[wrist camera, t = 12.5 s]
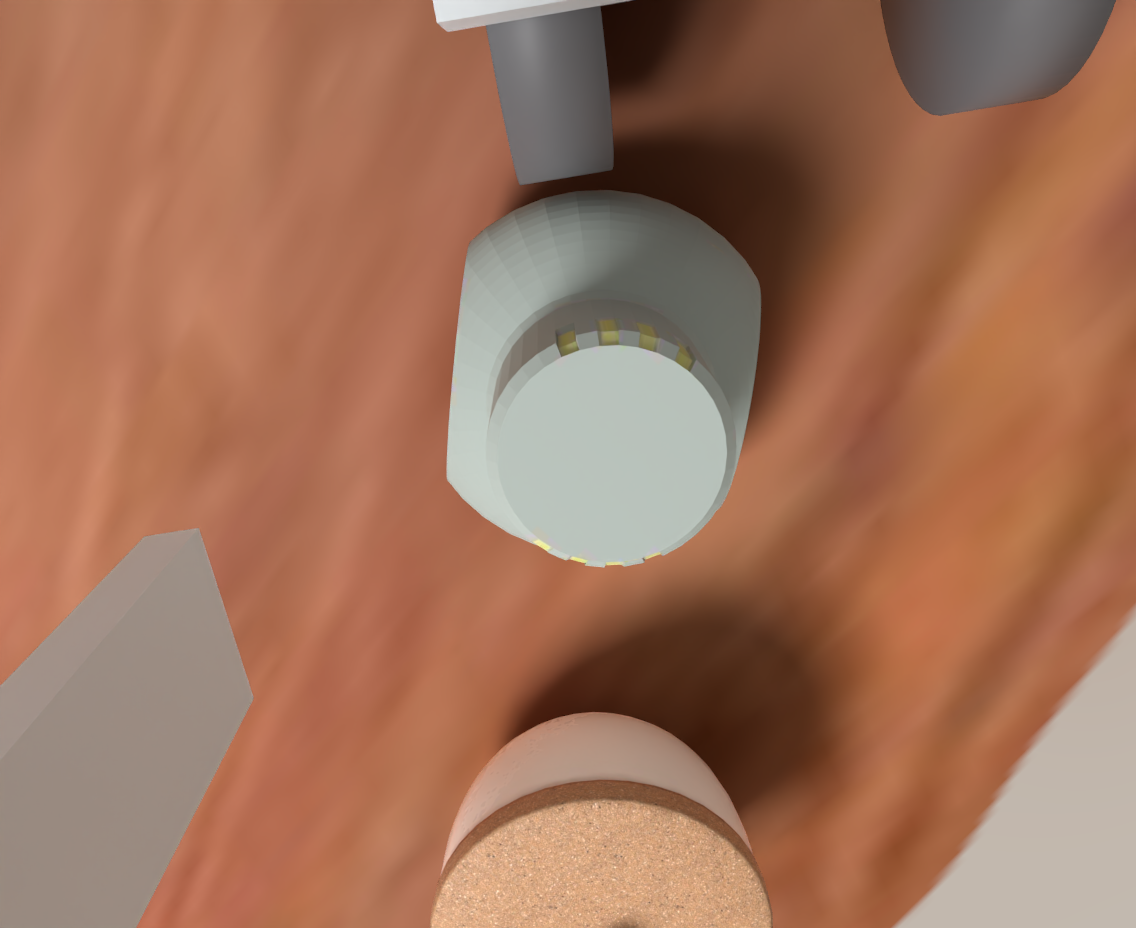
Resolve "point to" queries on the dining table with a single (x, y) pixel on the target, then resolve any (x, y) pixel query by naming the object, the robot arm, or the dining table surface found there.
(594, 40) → the trolley
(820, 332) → the dining table surface
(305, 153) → the dining table surface
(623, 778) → the lidded jar
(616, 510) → the air freshener
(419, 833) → the dining table surface
